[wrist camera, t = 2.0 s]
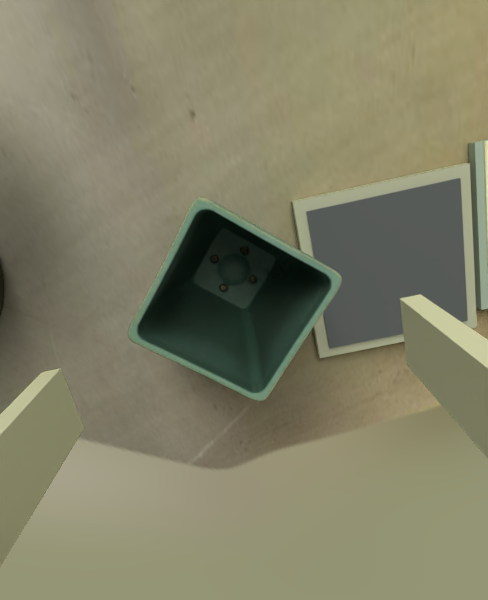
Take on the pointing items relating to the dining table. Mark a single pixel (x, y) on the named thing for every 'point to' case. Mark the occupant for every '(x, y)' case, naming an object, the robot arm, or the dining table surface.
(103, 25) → the dining table surface
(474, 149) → the board
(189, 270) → the flower pot
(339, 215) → the ink pad
